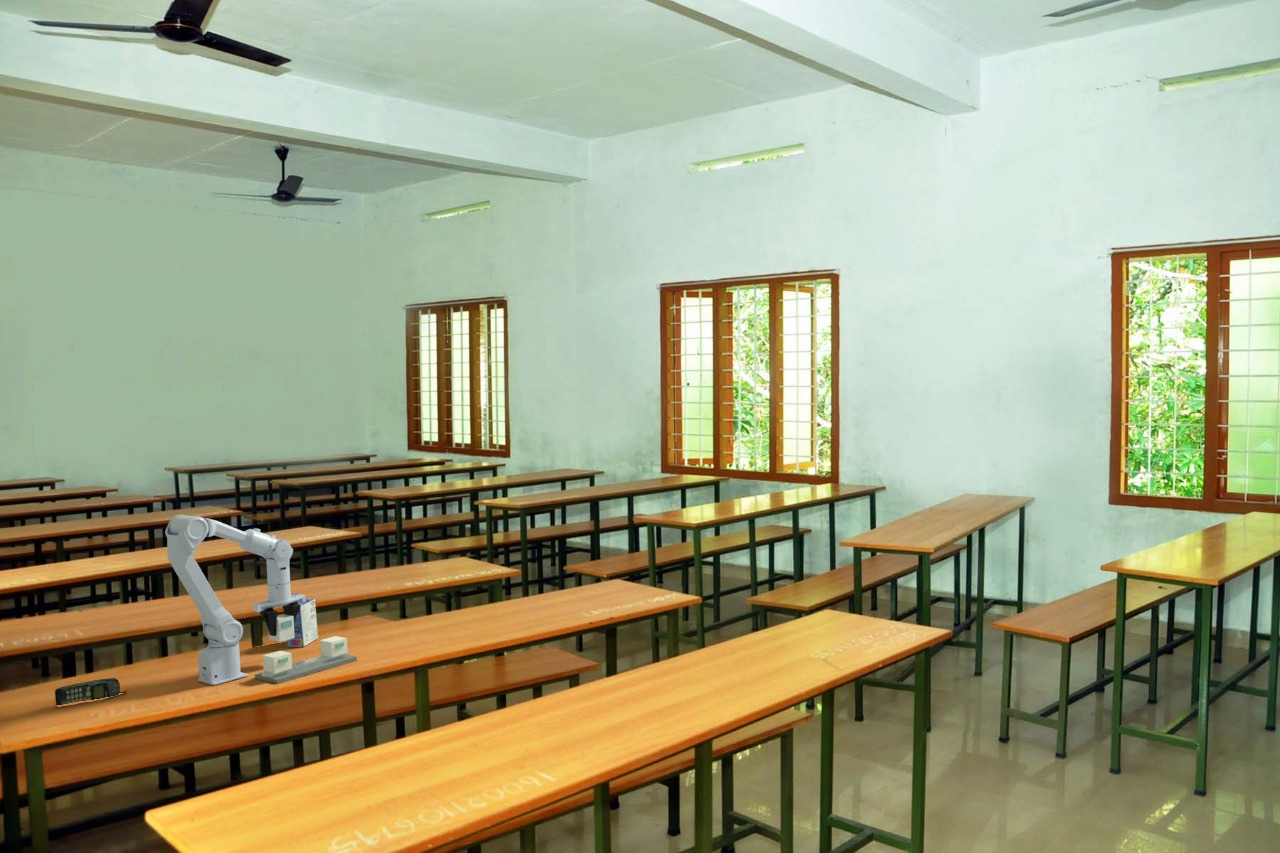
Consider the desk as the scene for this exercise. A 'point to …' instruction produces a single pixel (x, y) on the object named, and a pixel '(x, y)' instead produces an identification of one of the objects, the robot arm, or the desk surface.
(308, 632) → the ink cartridge box
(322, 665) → the din board
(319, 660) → the din rail
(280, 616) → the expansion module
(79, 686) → the mobile phone
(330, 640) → the mounted modules
